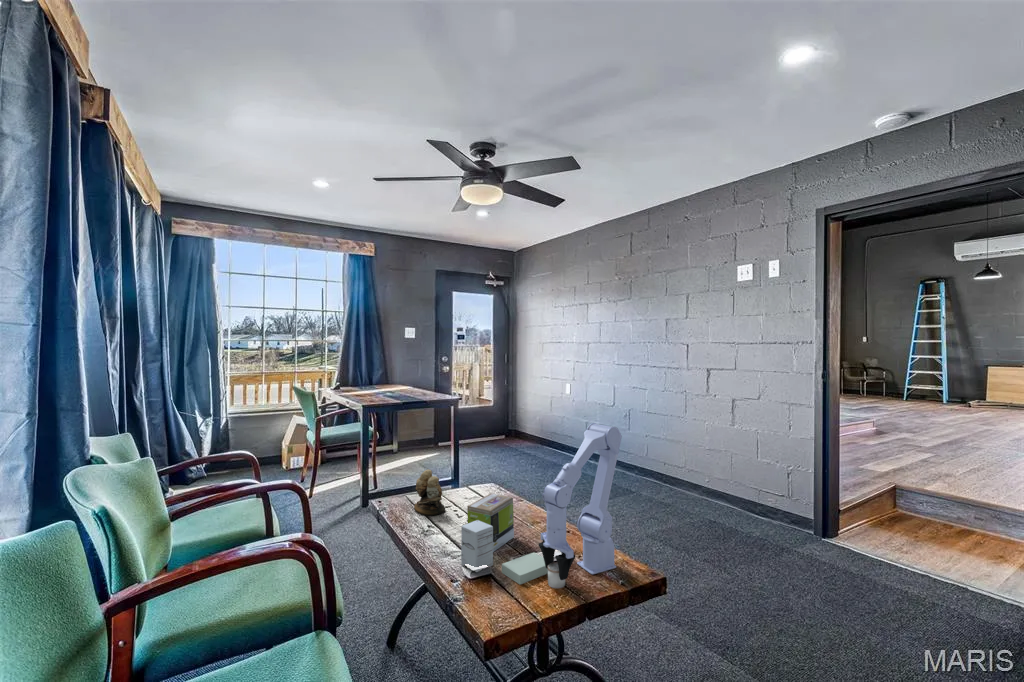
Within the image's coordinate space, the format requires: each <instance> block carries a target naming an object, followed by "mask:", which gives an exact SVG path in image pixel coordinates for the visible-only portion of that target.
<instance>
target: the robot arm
mask: <svg viewBox="0 0 1024 682" xmlns="http://www.w3.org/2000/svg"><path fill="white" fill-rule="evenodd" d="M583 437H584V439H583V440H582V443H581V445H580V446H579V448H578V450H577V452H576V453H575V455H574V457H573V458H572V460H571V462H566V463H565V464H564V465H563V466H562V468H561V470H560V471H559V473H558V474H557V475H556V477H555V479H554V480H553V481H552V483H549V484H547V485H546V486H545V487H544V489H543V491H542V492H543V493H541V498H542V500H543V501H544V504H545V505H544V506H545V509H546V531H545V532H540V540H541V542H538V547H539V549H540V552H541V554H542V557H543V558H544V562H545V566H546V568H547V569H548V565H549V564H550V563H555V562H554V560H556V562H557V563H558V567H559V577H560V580H565V581H566V580H567V579H568V577H569V573H570V569H571V567H572V564H573V562H574V560H575V559H576V554H574V553H575V552H574V550H573V549H572V547H571V546H570V545H569V543H568V541H567V506H568V505H569V504H570V503H571V499H572V494H573V491H574V490H573V489H574V488H575V485H577V483H578V481H579V480H580V478H581V477H582V468H583V467H584V466H585V465H586V463H587V462H588V460H589V459H590V458H591V457H592V456H593V454H594V453H595V452H596V451H597V452H598V454H599V459H598V463H597V469H596V471H595V472H596V473H595V478H594V482H593V488H592V492H591V497H590V500H589V504H588V505H585V506H584V507H582V509H581V513H580V516H579V517H578V520H577V523H576V525H577V526H576V527H577V530H578V531H579V533H580V536H581V537H582V560H580V561H577V562H576V564H577V565H578V566H580V567H581V568H582V569H583V570H584V571H586V572H588V573H589V574H590V575H596V574H600V573H603V572H606V571H610V570H613V569H616V568H617V566H616V565H615V544H614V543H615V542H614V541H613V538H612V537H611V536H612V533H613V517H612V515H611V514H610V511H608V504H609V499H610V494H611V490H612V485H613V481H614V480H613V479H614V476H615V475H614V474H615V469H616V464H617V461H618V456H619V453H620V452H619V451H620V447H621V442H622V438H623V435H622V433H621V432H620V429H619V428H618V427H616V426H611V425H605V424H598V423H595V422H591V423H590V424H589V425H588V426H587V427H586V430H584V432H583ZM556 550H557V551H559V552H560V553H561V554H558V555H555V552H556Z"/></svg>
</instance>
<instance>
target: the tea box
mask: <svg viewBox="0 0 1024 682" xmlns="http://www.w3.org/2000/svg"><path fill="white" fill-rule="evenodd" d="M466 507H467V509H466V511H467V524H468V523H471V522H473V521H476V520H479V521H481V522H484V523H486V524H489V525H491V526H493V553H494V552H496V551H497V550H498V549H499V548H501V547H502V546H504V545H505V544H506V543H508V542H510V540H512V539H513V538H515V529H514V528H515V526H514V521H515V520H514V497H513V496H506V495H499V494H496V493H495V494H494V493H489V494H487V495H485V496H483V497H481V498H479V499H478V500H476V501H474V502H472V503H470V504H468V505H467V506H466Z"/></svg>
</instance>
